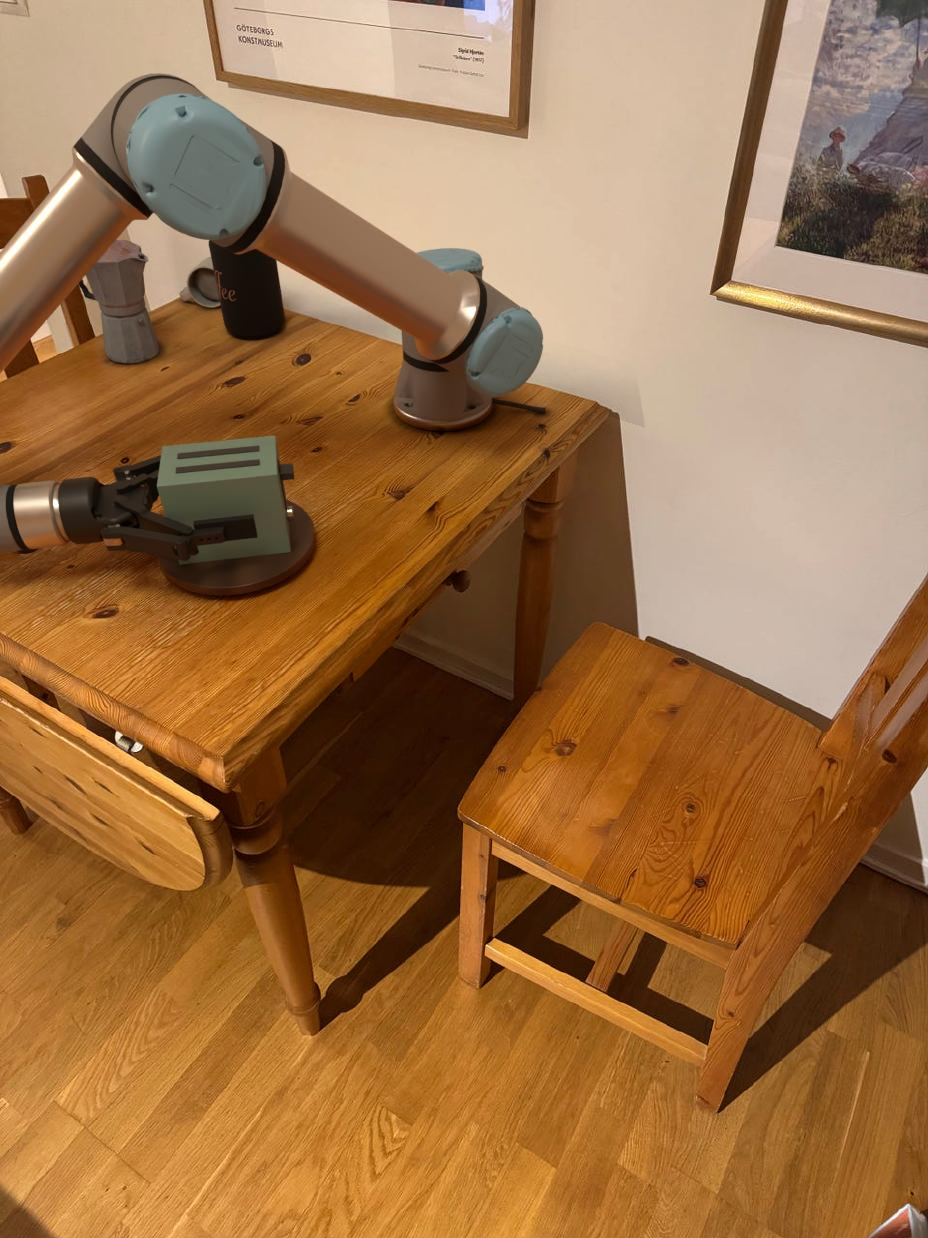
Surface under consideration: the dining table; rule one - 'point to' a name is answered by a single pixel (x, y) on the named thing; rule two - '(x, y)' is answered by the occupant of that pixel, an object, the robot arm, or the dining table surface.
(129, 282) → the moka pot
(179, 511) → the toaster
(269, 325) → the coffee jar
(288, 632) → the dining table surface
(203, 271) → the ceramic mug
